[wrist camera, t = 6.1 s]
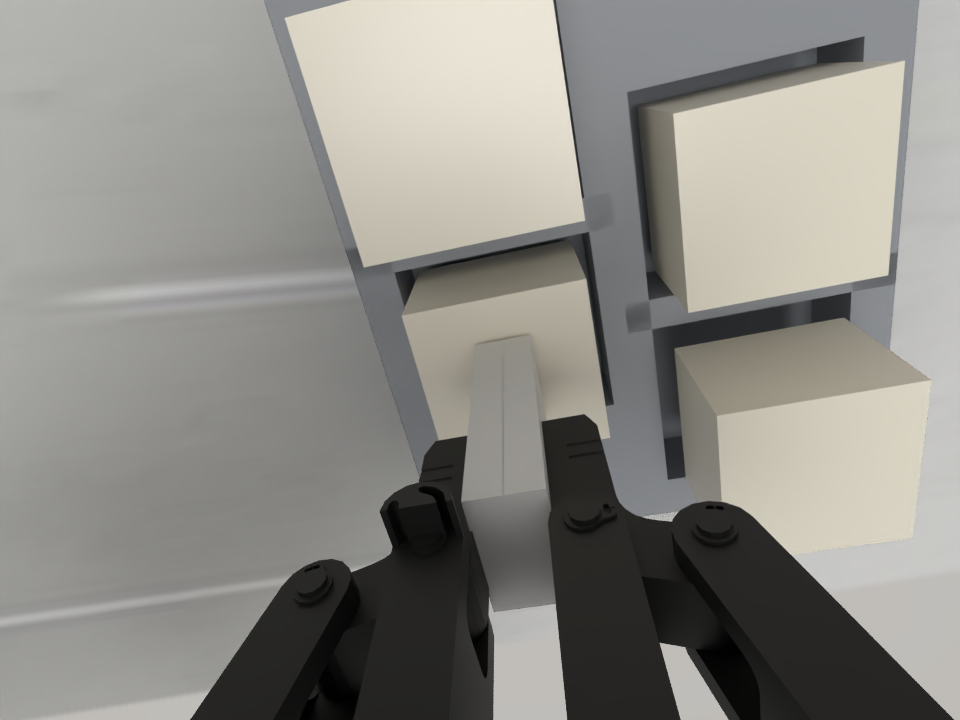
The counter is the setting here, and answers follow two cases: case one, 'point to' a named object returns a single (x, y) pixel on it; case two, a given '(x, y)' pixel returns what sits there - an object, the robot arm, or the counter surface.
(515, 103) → the button
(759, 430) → the button
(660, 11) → the board
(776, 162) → the button
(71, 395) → the counter surface
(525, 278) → the button
